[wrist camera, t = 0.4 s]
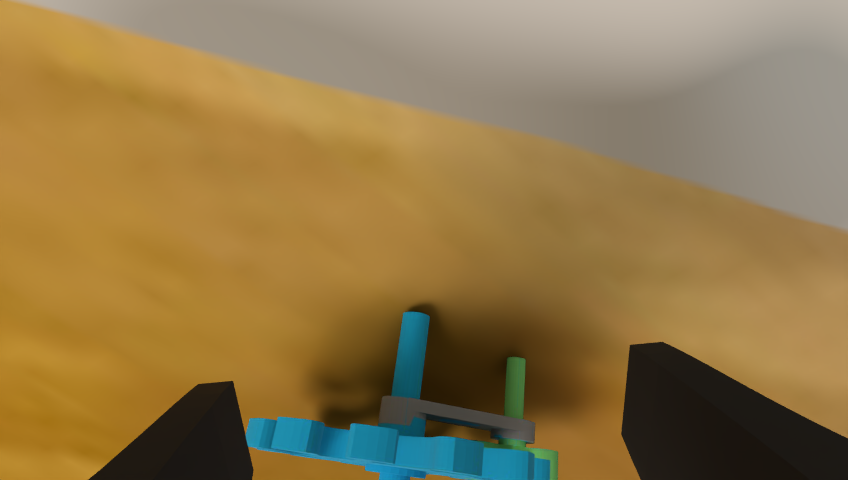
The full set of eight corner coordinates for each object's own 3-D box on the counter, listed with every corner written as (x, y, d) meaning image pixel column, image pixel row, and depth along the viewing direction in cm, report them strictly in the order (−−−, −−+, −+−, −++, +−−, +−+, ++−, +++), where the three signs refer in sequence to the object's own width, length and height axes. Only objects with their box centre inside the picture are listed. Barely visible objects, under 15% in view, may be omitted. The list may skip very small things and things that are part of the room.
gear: (224, 462, 20) (263, 475, 11) (264, 313, 22) (319, 232, 14) (478, 496, 24) (650, 525, 15) (488, 364, 26) (640, 325, 18)
